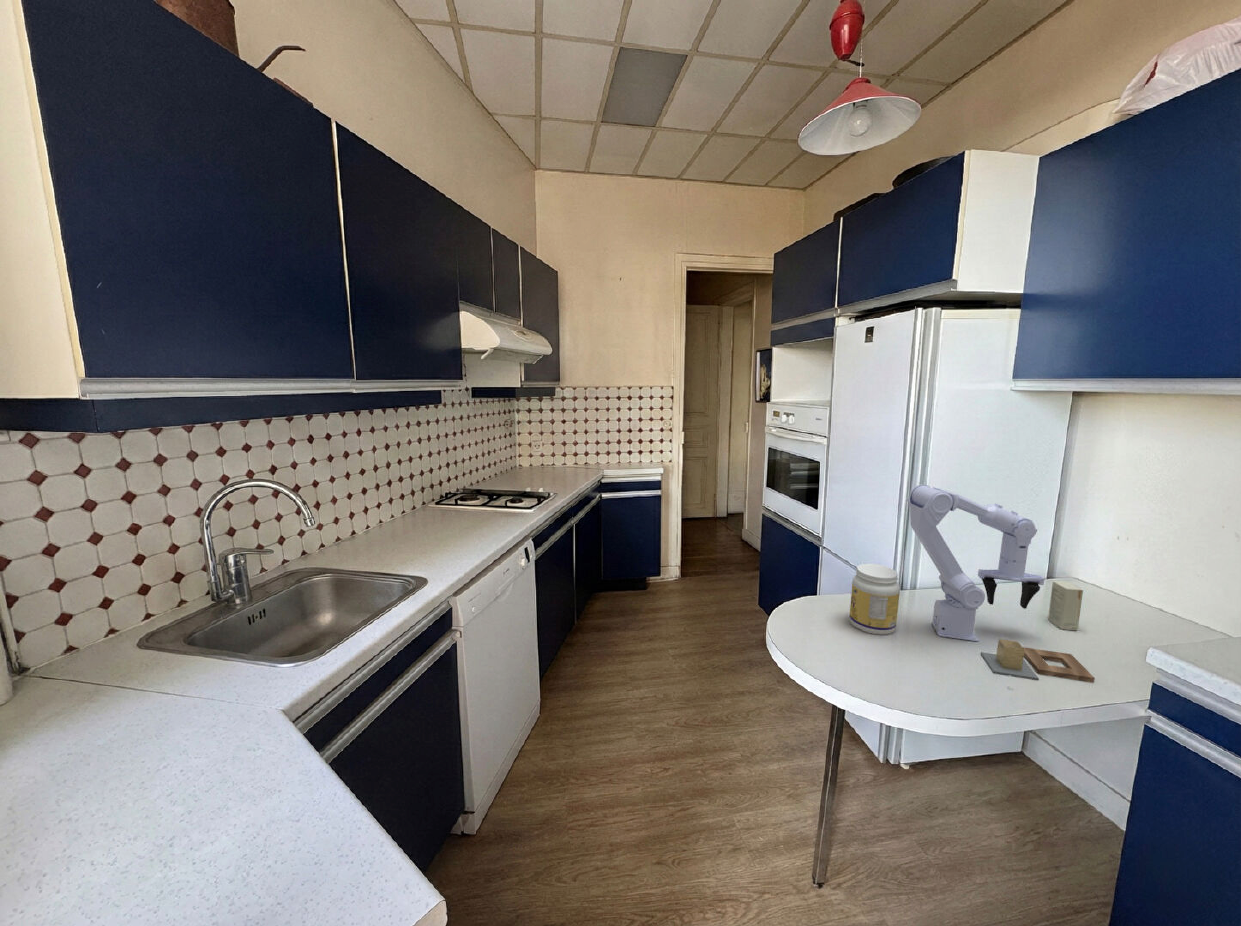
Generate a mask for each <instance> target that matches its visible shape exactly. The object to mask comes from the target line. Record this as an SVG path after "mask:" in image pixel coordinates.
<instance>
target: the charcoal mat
mask: <svg viewBox="0 0 1241 926" xmlns="http://www.w3.org/2000/svg"><path fill="white" fill-rule="evenodd" d="M996 654H997V653H996ZM996 654H995V653H990V652H984V651H983V652H982V651H981V652H980V655H981V656H982V658H983V660H984V661H985V663H986V664H987V666H988V667H989V670H991V672H992V673H993V674H997V675H1003V676H1009V675H1011V676H1010V677H1015V678H1023V679H1029V680H1035V681H1039V677H1038V676H1037V675H1036V673H1035V672H1034V671H1033V669H1032V668H1031V667H1030V665H1028V663H1027V662H1026V661H1025V659H1024V658H1023V665H1022V671H1021V670H1014V669H1008V668H1002V667H1001V665H1000V664H999V663H998V661H997V660H996Z"/></svg>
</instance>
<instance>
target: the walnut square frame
mask: <svg viewBox="0 0 1241 926" xmlns="http://www.w3.org/2000/svg"><path fill="white" fill-rule="evenodd" d="M1022 647H1023V648H1024V650H1025V652H1024V658H1025V660H1026V661H1027V662H1028V663H1029V664H1030V665H1032V666H1031V667H1032V668H1033V669H1034V671H1035V670H1036V671H1037V672H1036V671H1035V672H1036V673H1037V674H1038V675H1044V676H1049V675H1050V677H1056V678H1062V679H1063V678H1064V679H1069V680H1073V681H1074V680H1075V681H1082V682H1088V683H1095V678H1096V677H1094V675H1092V674H1091V673H1090V671H1089V670H1088V669H1086V667H1085V666H1084V665H1083V664H1082V663H1081V662H1079V660H1078V659H1077V658H1076V657H1074V656H1073V654H1072V653H1067V652H1066V653H1065V652H1061V651H1059V652H1058V651H1051V650H1045V649H1038V648H1031V647H1024V646H1022ZM1043 659H1044V660H1043ZM1048 660H1049V662H1055V663H1061V664H1063V666H1057V665H1051V664H1048V663H1047V662H1046V661H1048Z"/></svg>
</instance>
